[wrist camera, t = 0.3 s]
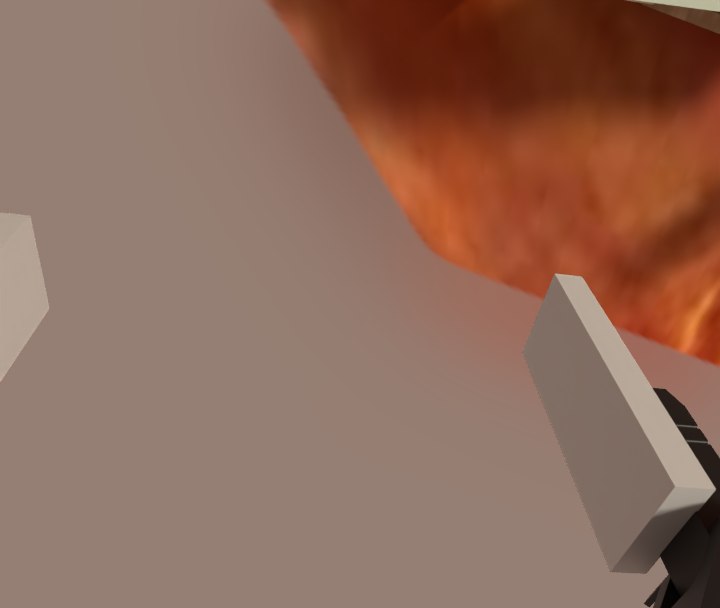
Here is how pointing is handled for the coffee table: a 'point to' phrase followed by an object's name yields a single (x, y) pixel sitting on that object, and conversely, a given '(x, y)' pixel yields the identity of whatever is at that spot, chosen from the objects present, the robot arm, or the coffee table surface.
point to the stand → (689, 15)
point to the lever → (690, 3)
